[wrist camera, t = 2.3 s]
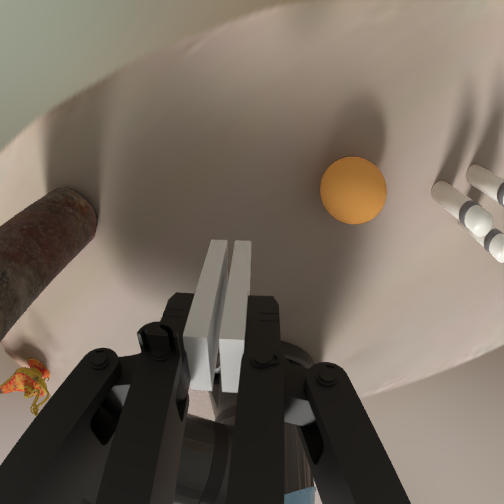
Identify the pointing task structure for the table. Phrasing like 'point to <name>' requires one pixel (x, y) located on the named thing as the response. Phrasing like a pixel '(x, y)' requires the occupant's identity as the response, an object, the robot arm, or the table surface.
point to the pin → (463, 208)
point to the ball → (353, 190)
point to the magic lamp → (29, 382)
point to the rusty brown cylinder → (40, 249)
